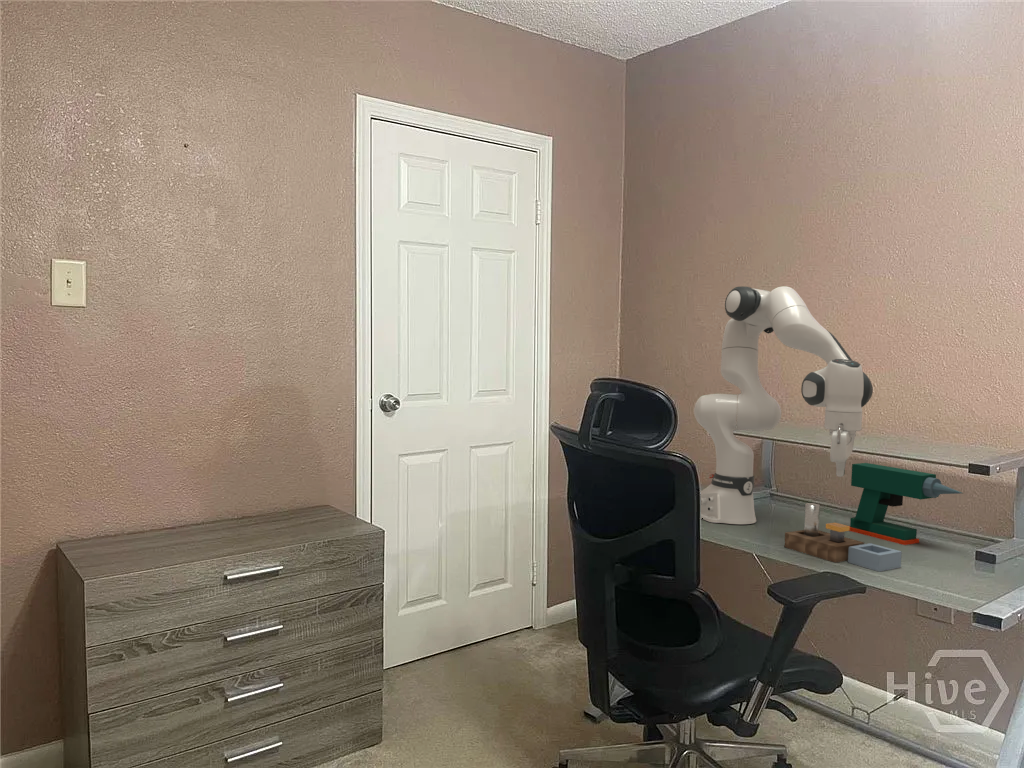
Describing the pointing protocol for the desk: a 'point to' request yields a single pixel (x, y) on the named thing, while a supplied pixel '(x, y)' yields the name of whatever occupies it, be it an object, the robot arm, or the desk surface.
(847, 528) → the tan block
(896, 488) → the power tool
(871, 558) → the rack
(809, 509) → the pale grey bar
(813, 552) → the block
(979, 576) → the desk surface
